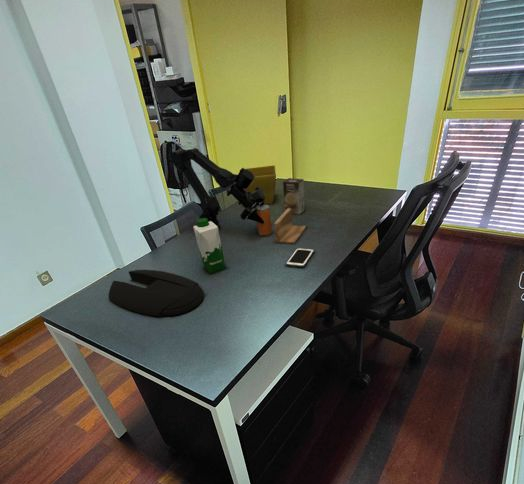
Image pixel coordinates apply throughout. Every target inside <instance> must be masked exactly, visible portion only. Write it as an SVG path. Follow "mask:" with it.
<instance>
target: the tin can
mask: <svg viewBox="0 0 524 484" xmlns="http://www.w3.org/2000/svg"><path fill="white" fill-rule="evenodd" d="M256 211H257V214H258V215H259V216H260V217H261V218H262V219H263V221H264V223H263V224H262V223H259V222H256V226H257V233H258V236H260V237H268V236H270V235H272V234H273V229H272V218H271V208H270V204H266V205H259V206H257V207H256Z"/></svg>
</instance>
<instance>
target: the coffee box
mask: <svg viewBox="0 0 524 484" xmlns="http://www.w3.org/2000/svg"><path fill="white" fill-rule="evenodd" d="M282 188H283V190H282V191H283V205H284V212H285V211H286V210H287V208H289V209H291V211H292V215H301V214H302V213H303V212H304V211H305V183H304V178H294V177H293V178H292V177H287V179H285V180H284V181H283V182H282Z"/></svg>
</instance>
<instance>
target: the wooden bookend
mask: <svg viewBox="0 0 524 484" xmlns="http://www.w3.org/2000/svg"><path fill="white" fill-rule="evenodd" d="M273 225H274V226H273V227H274V236H275V237H274V238H275V243H279V244H292V245H295V244H296V243H297V241H298V240H299V239H300V237H301V235H302V234H303V233H304V231H306V229H307V226H306V225H296V224H295V225H294V224H293V214H292V211H291V209H289V208H287V210H286V211H285V210H284V211H283V213H282V214H281V215H280V216H279V217H278V218H277V220H275V222H274V223H273Z"/></svg>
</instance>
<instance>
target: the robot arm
mask: <svg viewBox="0 0 524 484" xmlns="http://www.w3.org/2000/svg"><path fill="white" fill-rule="evenodd" d="M169 159H170V162H171V163H172V164H173V166H174V167H175V168H176V169H177V170H179V171H180V172H181V173H182V174H183V176H184V177H185V179H186V180H187V182H188V183H189V185H190V187H191V188H192V189H193V191H194V193H195V195H196V196H197V198H198V200H199V201H200V202H199V203H200V208H201V210H202V213H201V214H200V215H199V219H201V218H207V219H208V222H210V221H211V222H213V223H214V224H215V225H216V226H217V227H218V230H219V229H220V227H221V226H220V221H219V219H218V217H217V216H218V215H219V212H220V207H221V206H220V203H219V202H218V200H217V198H216V197H215V196H211V195H210V194H209V193H208V192H207V190H206V188H205V187H204V185H203V183H202V181H201V180H200V178H199V176H198V175H197V173H196V172H195V169H194V168H193V166H192V161H193V162H195V164H197V165H198V166H199V167H201V168H202V169H203V170H205V171H206V173H208V174H210V176H211V177H213V179H214V181H215V183H216V184H217V185H218V186H219V187H220V188H222V189H226V190H225V191H226V196H227V197H230V195H231V196H233V198H234V199H236V201H238V204H237V205H239V206H241V205H242V206H243V207H244V208H243V211H242V212H241V213H240V219H241V220H242V221H245V220H250V221H253V222H256V223H257V222H259V223H262V224H263V223H264V221H263V219H262V218H261V217H260V216H259V215H258V214H257V211H256V207H257V206H259V205H264V202H265V200H264V199H265V198H266V197H265V196H264V193H263V189H262V188H261V187H260V186H258V187H256V188H255V191H254V192H253V193H251V192H250V191H248V192H247V191H246V190H245V189H247V188H248V186H249V185H250V184H251V182H252V181H253V180H254V175H253V173H252V172H250V171H248V170H246V169H247V168H245V167H242V168H240V170H239V171H238V173H237V174H236V173H233V172H232V171H230V170H228V169H226V168H223V167H220V166H219V165H217V164H216V163H215V162H213V161H212V160H211V159H210V158H209V157H207V156H206V155H205V154H203V153H202V151H200V150H199V149H198V148H197V147H193V148H189V149H184V148H179V149H178V150H175V151H173V152H171V153H170V158H169Z"/></svg>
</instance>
